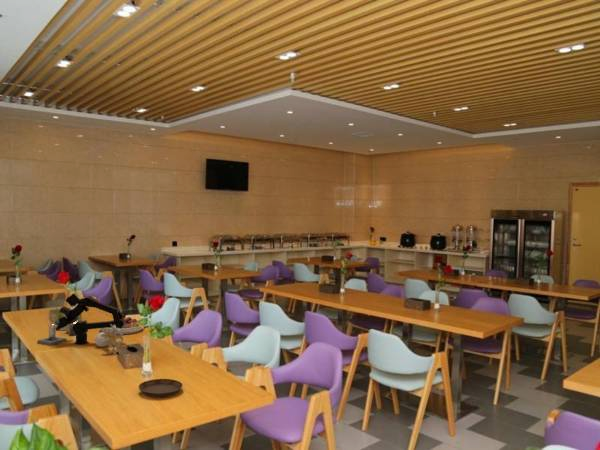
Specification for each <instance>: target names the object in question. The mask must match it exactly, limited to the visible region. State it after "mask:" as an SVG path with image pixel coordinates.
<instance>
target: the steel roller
mask: <svg viewBox="0 0 600 450" xmlns="http://www.w3.org/2000/svg"><path fill="white" fill-rule="evenodd" d="M56 333H57V330H56V324H55V322H54V323H49V324H48V338H49V341H54V340H56V337H57V336H56V335H57V334H56Z"/></svg>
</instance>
